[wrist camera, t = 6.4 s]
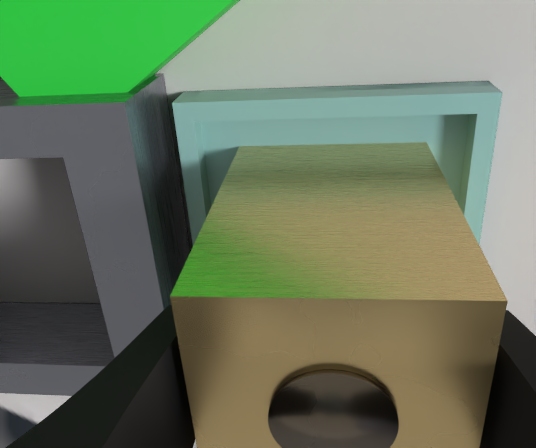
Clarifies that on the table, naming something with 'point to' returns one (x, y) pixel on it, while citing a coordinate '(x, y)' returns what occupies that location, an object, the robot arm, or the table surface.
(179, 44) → the mechanical part
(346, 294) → the block
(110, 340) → the grey slotted block
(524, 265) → the table surface
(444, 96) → the tray
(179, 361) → the robot arm
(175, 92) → the table surface
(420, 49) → the table surface
